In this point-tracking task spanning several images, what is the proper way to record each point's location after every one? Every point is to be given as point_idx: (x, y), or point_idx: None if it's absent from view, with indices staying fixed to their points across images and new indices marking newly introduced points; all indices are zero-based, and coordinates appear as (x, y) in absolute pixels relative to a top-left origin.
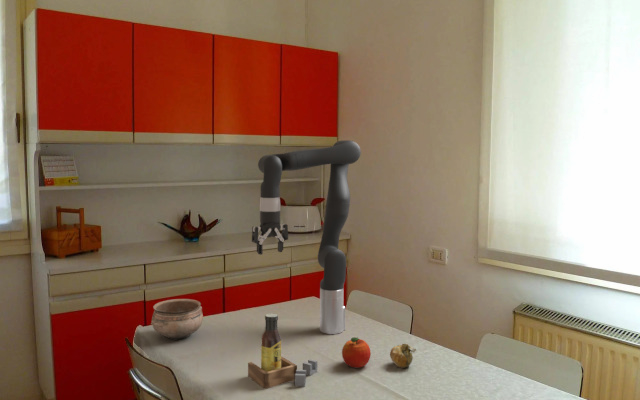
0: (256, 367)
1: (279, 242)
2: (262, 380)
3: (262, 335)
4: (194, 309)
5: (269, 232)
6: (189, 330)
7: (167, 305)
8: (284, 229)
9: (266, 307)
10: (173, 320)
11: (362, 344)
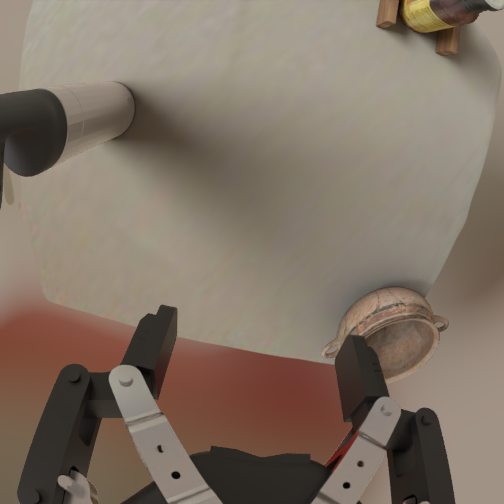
0: (458, 26)
1: (156, 381)
2: None
3: (476, 18)
4: (397, 319)
5: (322, 502)
6: (399, 287)
7: None
8: (65, 472)
9: (139, 320)
10: (430, 313)
11: None
